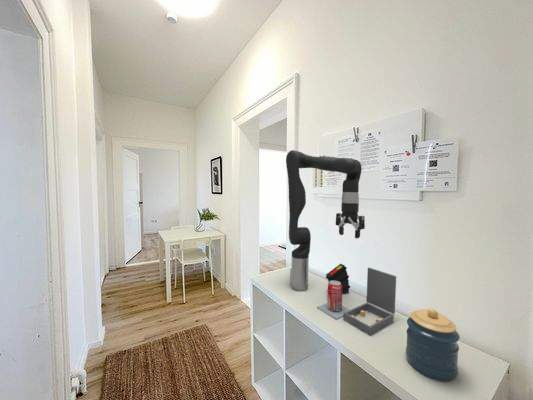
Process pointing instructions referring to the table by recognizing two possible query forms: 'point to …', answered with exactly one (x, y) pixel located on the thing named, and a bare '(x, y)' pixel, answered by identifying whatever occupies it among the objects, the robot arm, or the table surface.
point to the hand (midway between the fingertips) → (349, 236)
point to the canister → (432, 344)
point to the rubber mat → (331, 313)
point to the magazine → (340, 277)
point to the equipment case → (375, 302)
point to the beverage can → (334, 296)
